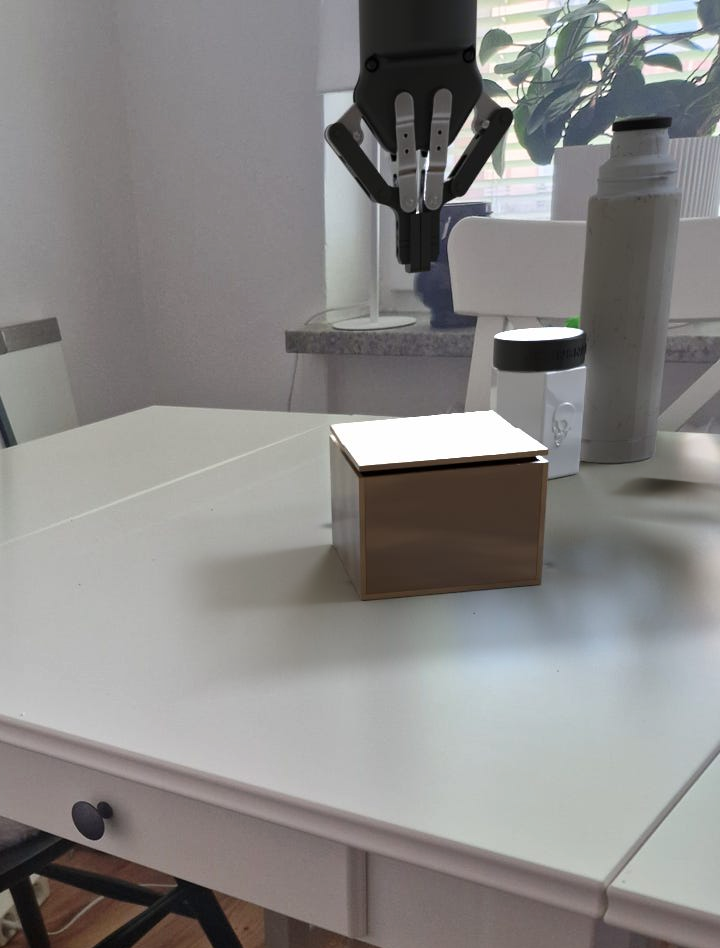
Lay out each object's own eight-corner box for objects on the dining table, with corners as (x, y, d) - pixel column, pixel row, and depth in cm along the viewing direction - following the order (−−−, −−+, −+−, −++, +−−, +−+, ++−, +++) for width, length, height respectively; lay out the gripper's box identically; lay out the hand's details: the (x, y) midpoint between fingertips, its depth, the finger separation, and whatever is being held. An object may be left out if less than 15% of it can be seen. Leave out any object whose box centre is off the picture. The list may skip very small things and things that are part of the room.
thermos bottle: (556, 450, 117) (578, 122, 103) (631, 442, 118) (663, 116, 103) (590, 466, 110) (618, 118, 96) (669, 457, 111) (709, 111, 97)
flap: (329, 430, 90) (329, 424, 89) (492, 416, 90) (492, 410, 90) (343, 451, 84) (343, 445, 83) (517, 436, 84) (518, 430, 84)
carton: (332, 543, 94) (328, 424, 90) (488, 529, 94) (493, 410, 90) (360, 600, 81) (358, 466, 77) (541, 584, 82) (549, 449, 77)
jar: (521, 486, 105) (528, 344, 99) (467, 471, 112) (471, 336, 106) (598, 470, 109) (610, 331, 102) (542, 456, 115) (550, 324, 109)
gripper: (320, -33, 70) (332, 285, 79) (537, -53, 70) (525, 266, 79) (306, -16, 76) (318, 276, 85) (505, -34, 77) (496, 259, 86)
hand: (418, 271), depth 82 cm, fingers closed
